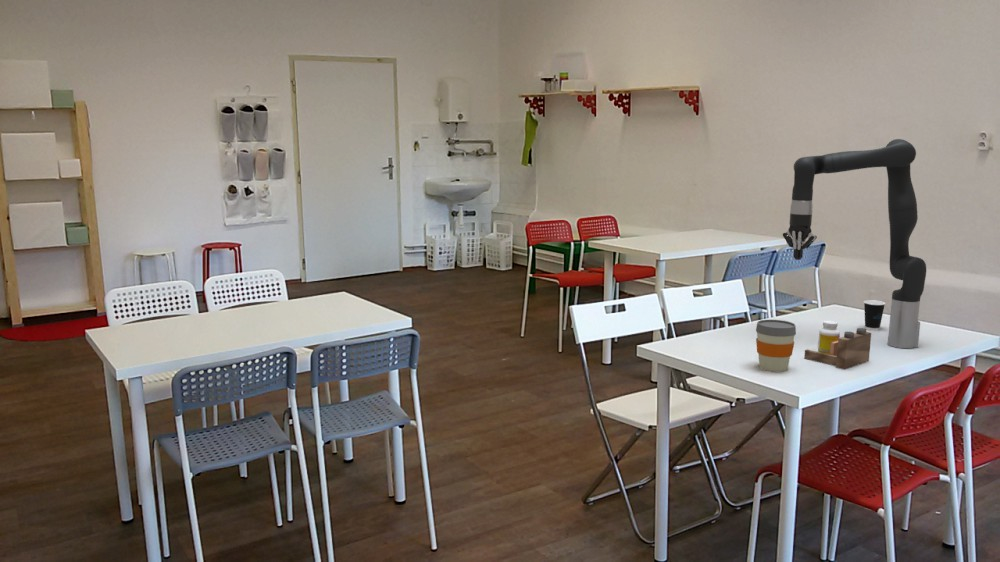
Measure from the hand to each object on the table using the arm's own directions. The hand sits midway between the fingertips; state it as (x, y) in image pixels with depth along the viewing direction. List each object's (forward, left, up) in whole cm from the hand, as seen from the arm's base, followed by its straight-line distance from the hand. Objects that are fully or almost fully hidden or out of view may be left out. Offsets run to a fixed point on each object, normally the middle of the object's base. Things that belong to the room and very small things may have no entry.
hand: (797, 259), depth 298 cm
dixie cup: (-38, -19, -31) cm, 53 cm away
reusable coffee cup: (+18, +36, -31) cm, 51 cm away
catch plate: (-7, +27, -30) cm, 41 cm away
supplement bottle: (-4, +24, -31) cm, 39 cm away
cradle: (-6, +26, -31) cm, 41 cm away
